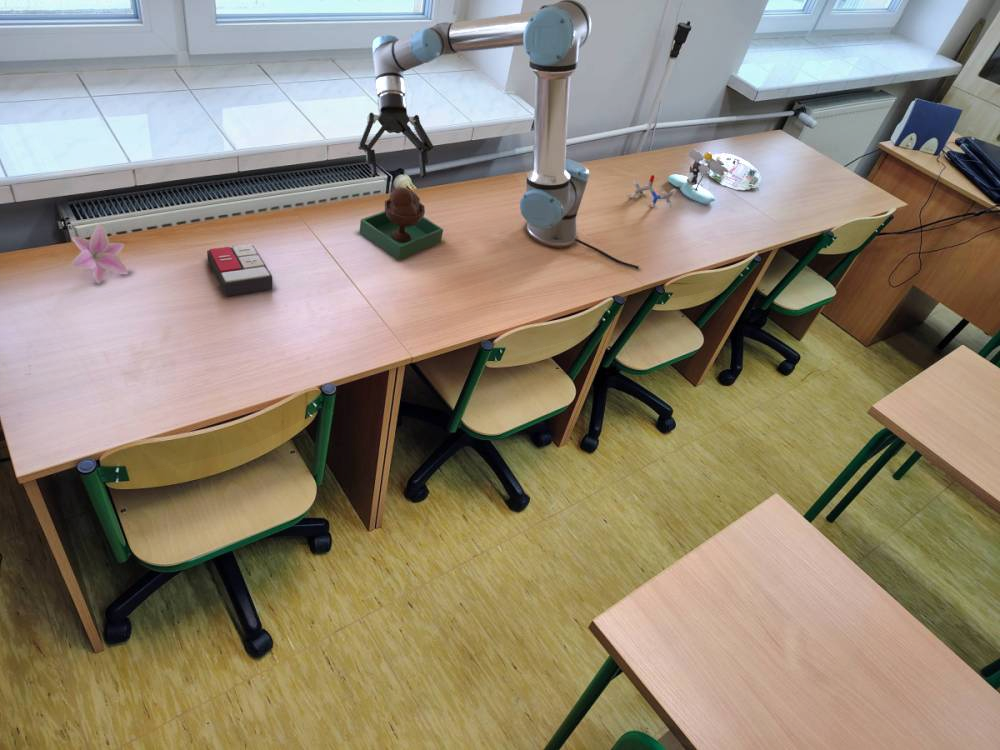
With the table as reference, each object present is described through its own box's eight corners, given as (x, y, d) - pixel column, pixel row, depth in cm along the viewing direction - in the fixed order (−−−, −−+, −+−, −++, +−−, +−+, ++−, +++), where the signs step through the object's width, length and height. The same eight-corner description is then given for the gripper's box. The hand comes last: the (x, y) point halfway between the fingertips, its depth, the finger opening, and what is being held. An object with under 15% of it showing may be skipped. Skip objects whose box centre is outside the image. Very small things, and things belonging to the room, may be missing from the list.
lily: (64, 289, 155) (75, 265, 149) (58, 243, 158) (68, 219, 152) (124, 293, 163) (136, 271, 157) (116, 250, 167) (128, 226, 161)
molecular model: (674, 215, 241) (686, 187, 236) (661, 216, 235) (673, 187, 230) (634, 195, 250) (644, 167, 245) (620, 194, 244) (631, 166, 239)
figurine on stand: (661, 179, 260) (677, 140, 250) (682, 177, 265) (698, 139, 256) (697, 207, 249) (714, 168, 239) (718, 205, 254) (736, 166, 244)
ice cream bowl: (414, 252, 191) (422, 203, 181) (375, 240, 191) (380, 190, 182) (425, 233, 199) (433, 185, 189) (387, 222, 199) (393, 173, 190)
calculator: (252, 241, 174) (272, 274, 165) (253, 256, 177) (273, 289, 168) (206, 247, 168) (223, 281, 159) (207, 262, 171) (225, 297, 162)
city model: (697, 184, 269) (704, 170, 264) (697, 152, 284) (703, 139, 280) (760, 202, 269) (768, 189, 265) (756, 170, 285) (764, 156, 280)
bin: (441, 242, 198) (443, 229, 195) (398, 260, 187) (400, 246, 185) (402, 216, 204) (404, 203, 201) (359, 233, 193) (360, 219, 190)
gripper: (431, 105, 199) (438, 180, 199) (342, 100, 189) (350, 179, 190) (439, 94, 192) (447, 172, 192) (347, 88, 182) (356, 171, 183)
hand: (399, 176), depth 191 cm, fingers open, 13 cm apart
